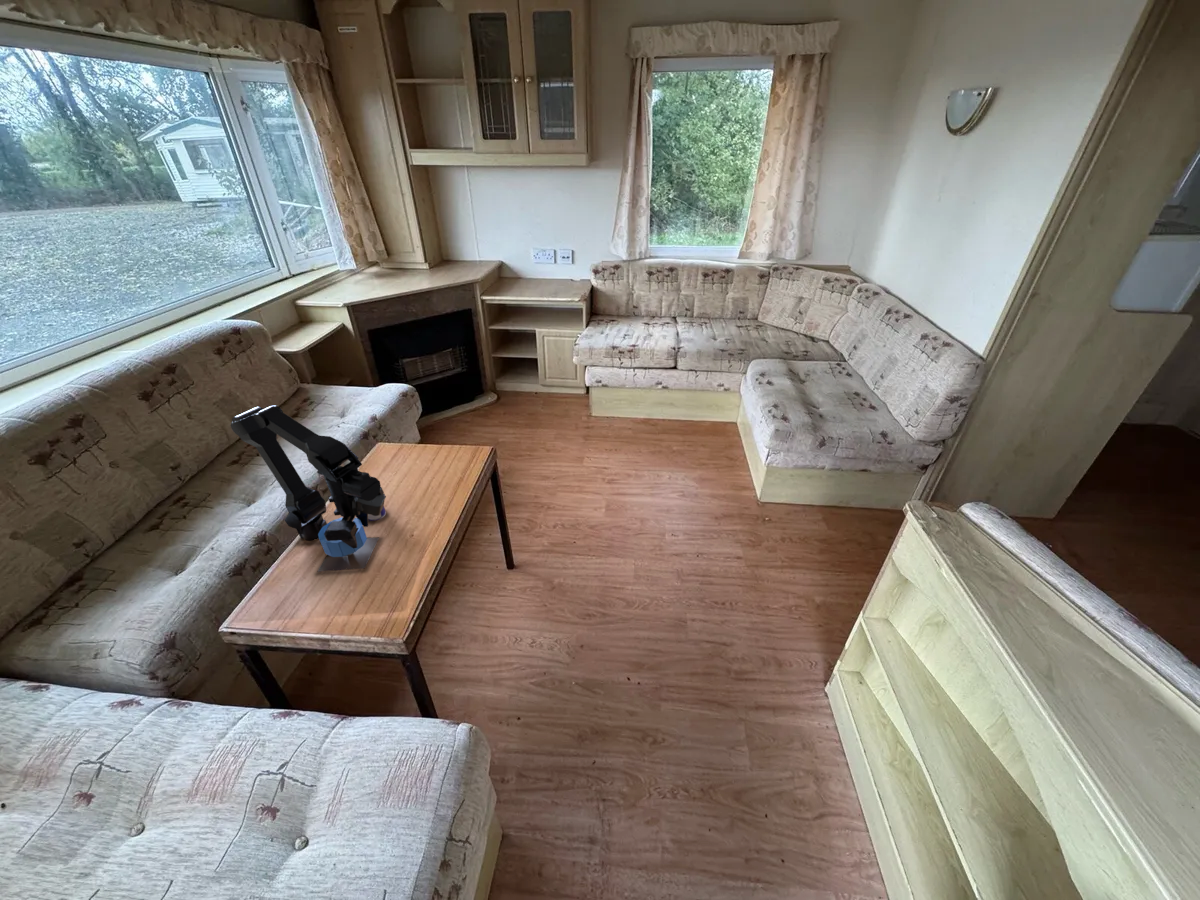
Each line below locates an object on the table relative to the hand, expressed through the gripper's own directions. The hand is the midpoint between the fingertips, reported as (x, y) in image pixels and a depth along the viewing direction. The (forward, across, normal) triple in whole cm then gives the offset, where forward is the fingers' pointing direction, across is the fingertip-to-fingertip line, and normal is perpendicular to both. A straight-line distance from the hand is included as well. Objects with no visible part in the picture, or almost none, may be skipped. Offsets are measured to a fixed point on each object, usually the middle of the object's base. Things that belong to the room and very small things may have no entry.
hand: (360, 536), depth 126 cm
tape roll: (+2, 0, +4) cm, 5 cm away
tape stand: (+6, 0, +4) cm, 8 cm away
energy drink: (+7, +16, +2) cm, 18 cm away
